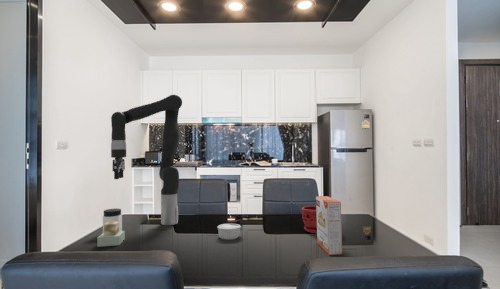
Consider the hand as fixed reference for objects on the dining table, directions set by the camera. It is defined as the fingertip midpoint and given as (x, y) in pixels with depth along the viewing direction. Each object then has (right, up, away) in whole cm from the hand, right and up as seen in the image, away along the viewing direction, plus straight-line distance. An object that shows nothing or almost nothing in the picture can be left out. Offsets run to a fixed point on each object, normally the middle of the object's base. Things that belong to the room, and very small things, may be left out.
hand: (119, 178), depth 154 cm
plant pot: (+105, -26, -10) cm, 109 cm away
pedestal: (+8, -27, -24) cm, 37 cm away
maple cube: (+8, -23, -24) cm, 34 cm away
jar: (+1, -27, -9) cm, 29 cm away
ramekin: (+62, -26, -18) cm, 69 cm away
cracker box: (+104, -25, -37) cm, 114 cm away
